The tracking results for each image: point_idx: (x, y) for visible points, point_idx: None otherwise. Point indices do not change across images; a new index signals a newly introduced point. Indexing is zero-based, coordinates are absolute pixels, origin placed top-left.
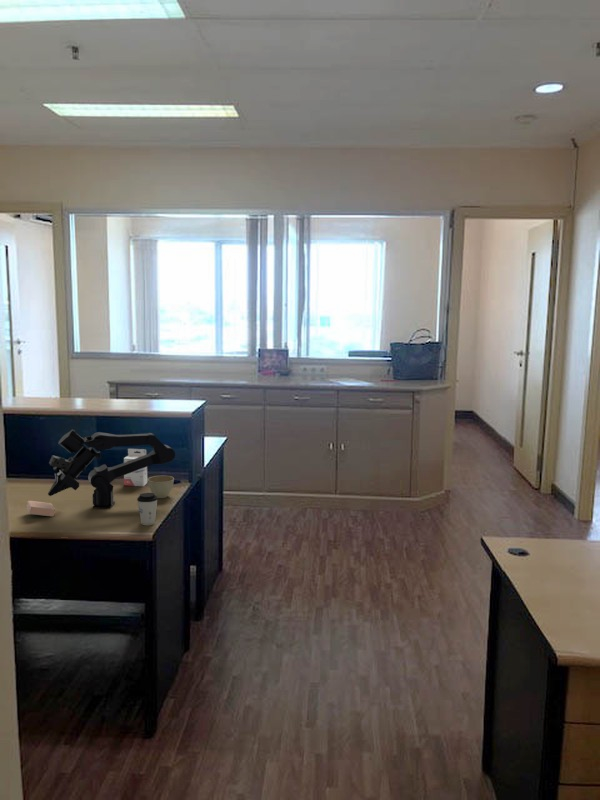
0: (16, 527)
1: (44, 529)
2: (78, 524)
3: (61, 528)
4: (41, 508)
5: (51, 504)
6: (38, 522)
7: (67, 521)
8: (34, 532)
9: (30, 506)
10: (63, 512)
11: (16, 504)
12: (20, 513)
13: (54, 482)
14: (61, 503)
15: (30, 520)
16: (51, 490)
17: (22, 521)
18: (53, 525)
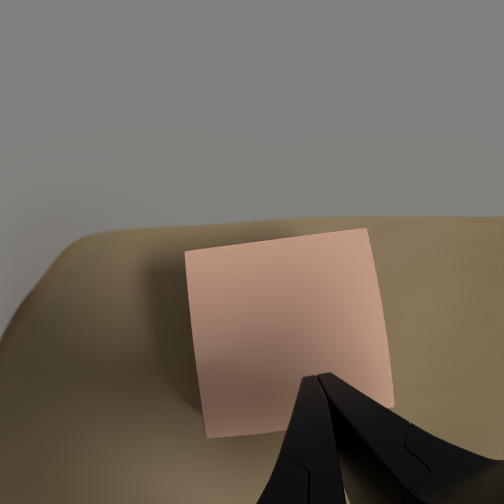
0: (123, 229)
1: (31, 343)
2: (29, 501)
3: (10, 415)
4: (192, 332)
5: None
6: (140, 328)
7: (87, 477)
8: (24, 298)
9: (213, 249)
10: None
11: (487, 220)
12: None
13: (418, 459)
14: (481, 449)
15: None
16: (291, 415)
17: None
18: (58, 394)
